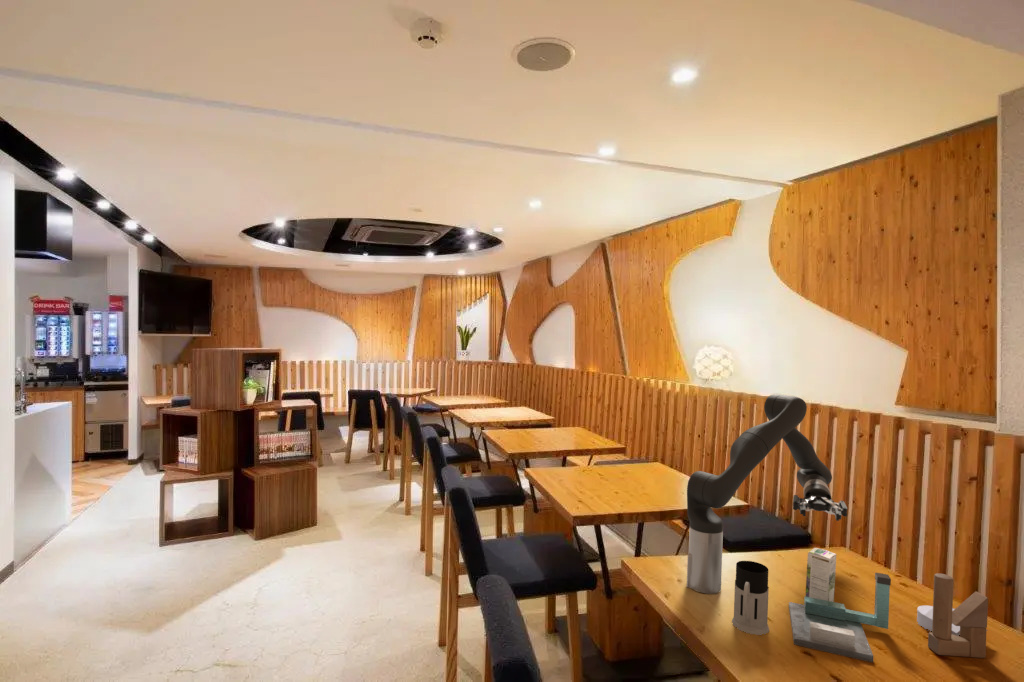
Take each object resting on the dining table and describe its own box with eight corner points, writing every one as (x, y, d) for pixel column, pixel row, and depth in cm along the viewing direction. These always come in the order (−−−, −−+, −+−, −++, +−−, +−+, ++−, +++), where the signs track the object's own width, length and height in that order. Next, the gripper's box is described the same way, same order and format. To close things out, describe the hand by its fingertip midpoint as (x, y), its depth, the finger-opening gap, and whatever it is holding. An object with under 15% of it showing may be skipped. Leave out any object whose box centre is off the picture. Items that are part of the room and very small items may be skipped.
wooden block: (986, 658, 126) (989, 581, 126) (938, 655, 127) (941, 579, 126) (973, 649, 130) (976, 574, 129) (927, 646, 130) (929, 572, 130)
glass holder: (771, 623, 139) (773, 565, 139) (763, 649, 127) (765, 585, 127) (735, 613, 144) (737, 556, 144) (724, 637, 132) (726, 576, 132)
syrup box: (811, 597, 154) (813, 546, 154) (834, 604, 150) (836, 552, 150) (804, 603, 150) (806, 551, 150) (828, 611, 146) (830, 558, 146)
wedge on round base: (987, 644, 132) (937, 617, 145) (988, 617, 132) (938, 592, 145) (956, 647, 131) (908, 619, 143) (957, 619, 131) (909, 593, 143)
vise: (794, 644, 129) (794, 625, 129) (788, 607, 148) (789, 590, 148) (873, 662, 123) (873, 642, 123) (857, 621, 141) (858, 604, 141)
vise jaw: (805, 612, 142) (806, 564, 142) (804, 607, 145) (805, 560, 145) (889, 630, 134) (891, 579, 134) (886, 623, 137) (888, 574, 137)
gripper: (792, 480, 176) (793, 499, 161) (843, 486, 169) (849, 506, 155) (791, 502, 177) (793, 523, 162) (842, 508, 170) (849, 531, 156)
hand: (820, 515), depth 159 cm, fingers open, 8 cm apart
